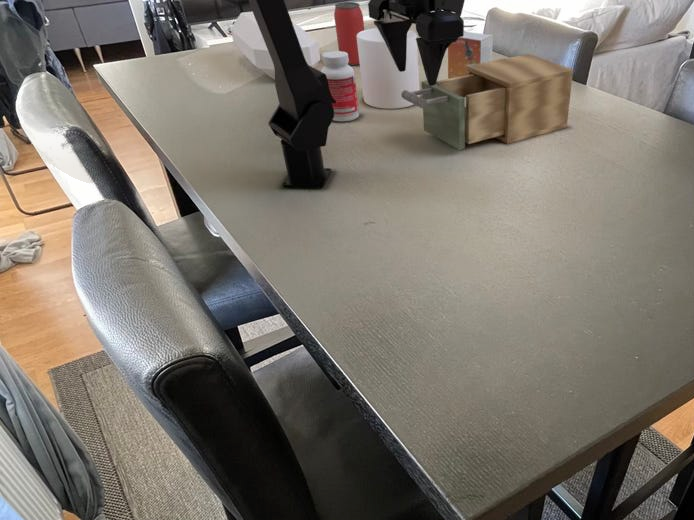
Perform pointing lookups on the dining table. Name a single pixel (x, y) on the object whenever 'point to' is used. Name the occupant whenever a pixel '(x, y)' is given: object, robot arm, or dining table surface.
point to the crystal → (255, 48)
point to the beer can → (348, 29)
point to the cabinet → (530, 94)
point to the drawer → (462, 109)
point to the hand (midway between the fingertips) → (416, 78)
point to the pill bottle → (341, 85)
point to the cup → (386, 70)
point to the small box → (468, 53)
